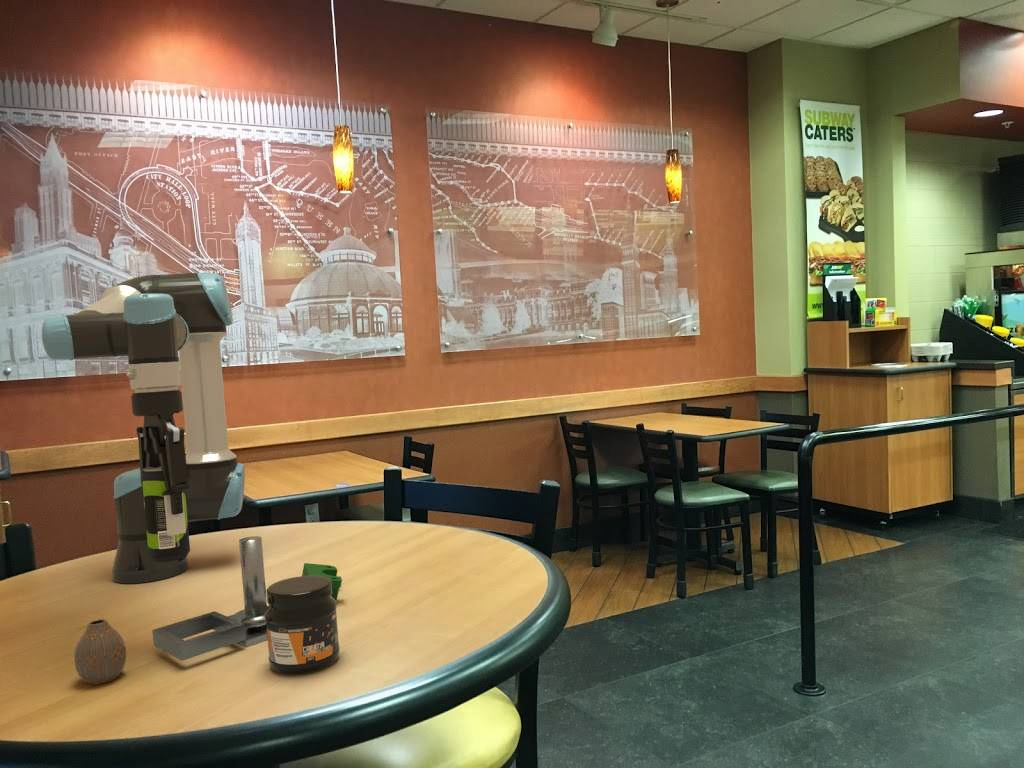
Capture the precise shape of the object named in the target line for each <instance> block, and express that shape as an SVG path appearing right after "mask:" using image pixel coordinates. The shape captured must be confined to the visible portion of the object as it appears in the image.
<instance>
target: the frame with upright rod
mask: <svg viewBox="0 0 1024 768" xmlns="http://www.w3.org/2000/svg"><path fill="white" fill-rule="evenodd" d="M238 542H239V543H238V544H239V555H240V566H241V567H240V569H241V579H242V580H241V583H242V593H243V594H242V595H243V605H244V609H242V610H239V611H237V612H235V613H234V614H230V615H227V616H226V615H224V614H222V613H220V612H217V611H210V612H208V613H204V614H201V615H198V616H193V617H191V618H187V619H183V620H180V621H177V622H174V623H171V624H167V625H164V626H162V627H158V628H154V629H152V631H151V632H152V642H153V646H154V647H156V648H158V649H159V650H161V651H164V653H167V654H169V655H170V656H173V657H174V658H176V659H178V660H180V661H181V662H182V661H185V660H188V659H192V658H194V657H197V656H201V655H204V654H207V653H210V652H213V651H215V650H219V649H221V648H224V647H227V646H230V645H233V644H235V643H238V644H240V645H242V646H244V647H245V648H248V647H250V646H253V645H256V644H258V643H261V642H265V641H268V638H267V626H266V619H265V610H266V608H267V607H268V602H267V593H266V591H267V589H266V577H265V567H264V564H265V563H264V552H263V551H264V550H263V539H262V537H261V536H258V535H257V536H256V535H255V536H245V537H242V538H240V539H239V540H238ZM212 630H213V631H212ZM208 631H211V632H208ZM205 632H207V633H205ZM201 633H204V634H201ZM198 634H201V635H198ZM196 635H198V636H196ZM193 636H195V637H193ZM189 637H191V638H189ZM187 638H188V639H187Z"/></svg>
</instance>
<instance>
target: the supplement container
mask: <svg viewBox="0 0 1024 768" xmlns="http://www.w3.org/2000/svg"><path fill="white" fill-rule="evenodd" d="M331 595H332V582H331V580H330V579H328V578H326V577H322V576H302V575H301V576H294V577H289V578H285V579H282V580H281V579H280V580H279V581H276V582H274V583H272V584H271V585H269V586H268V587H267V589H266V599H267V606H268V607H267V608H266V610H265V619H266V626H267V638H268V640H267V647H268V650H267V651H268V663H269V665H270V666H269V667H271V669H273V670H274V671H276V672H278V673H281V674H284V675H303V674H304V675H305V674H309V673H314V672H317V671H321V670H323V669H325V668H327V667H329V666H330V665H332V664H333V663H335V661H336V660H337V658H338V657H339V655H340V644H339V631H338V630H339V629H338V617H337V605H338V604H337V601H335V599H334V598H333V597H332V596H331Z"/></svg>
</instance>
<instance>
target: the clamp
mask: <svg viewBox="0 0 1024 768" xmlns="http://www.w3.org/2000/svg"><path fill="white" fill-rule="evenodd" d="M337 575H338V569H337V566H334V565H330V564H329V565H328V564H318V563H309V562H307V563H306V562H304V563H303V569H302V574H301V576H322V577H326V578H328V579H330V580H331V582H332V595H331V596H332V597H333V598H334V599H335V601H336V602H337V601H338V595H339V589H340V588H342V581H343V579H342V576H339V575H338V576H337Z"/></svg>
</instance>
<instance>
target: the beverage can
mask: <svg viewBox="0 0 1024 768" xmlns="http://www.w3.org/2000/svg"><path fill="white" fill-rule="evenodd" d="M143 471H144V474H143V475H142V483H143V494H144V506H145V518H146V529H147V541H148V553H149V557H150V558H151V559H152V560H153V561H154V562H170V561H175V560H179V559H183V558H185V557H186V556H187V557H188V554H189V553H190V551H191V546H190V533H189V532H190V531H189V522H188V519H187V507H186V495H185V490H184V492H183V501H184V513H185V525H186V533H182V534H177V535H172V536H167V526H166V514H165V502H164V496H163V495H162V492H164V491H166V488H165V483H164V478H163V473H162V468H161V466H159V467H158V468H153V467H147V468H144V469H143Z"/></svg>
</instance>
